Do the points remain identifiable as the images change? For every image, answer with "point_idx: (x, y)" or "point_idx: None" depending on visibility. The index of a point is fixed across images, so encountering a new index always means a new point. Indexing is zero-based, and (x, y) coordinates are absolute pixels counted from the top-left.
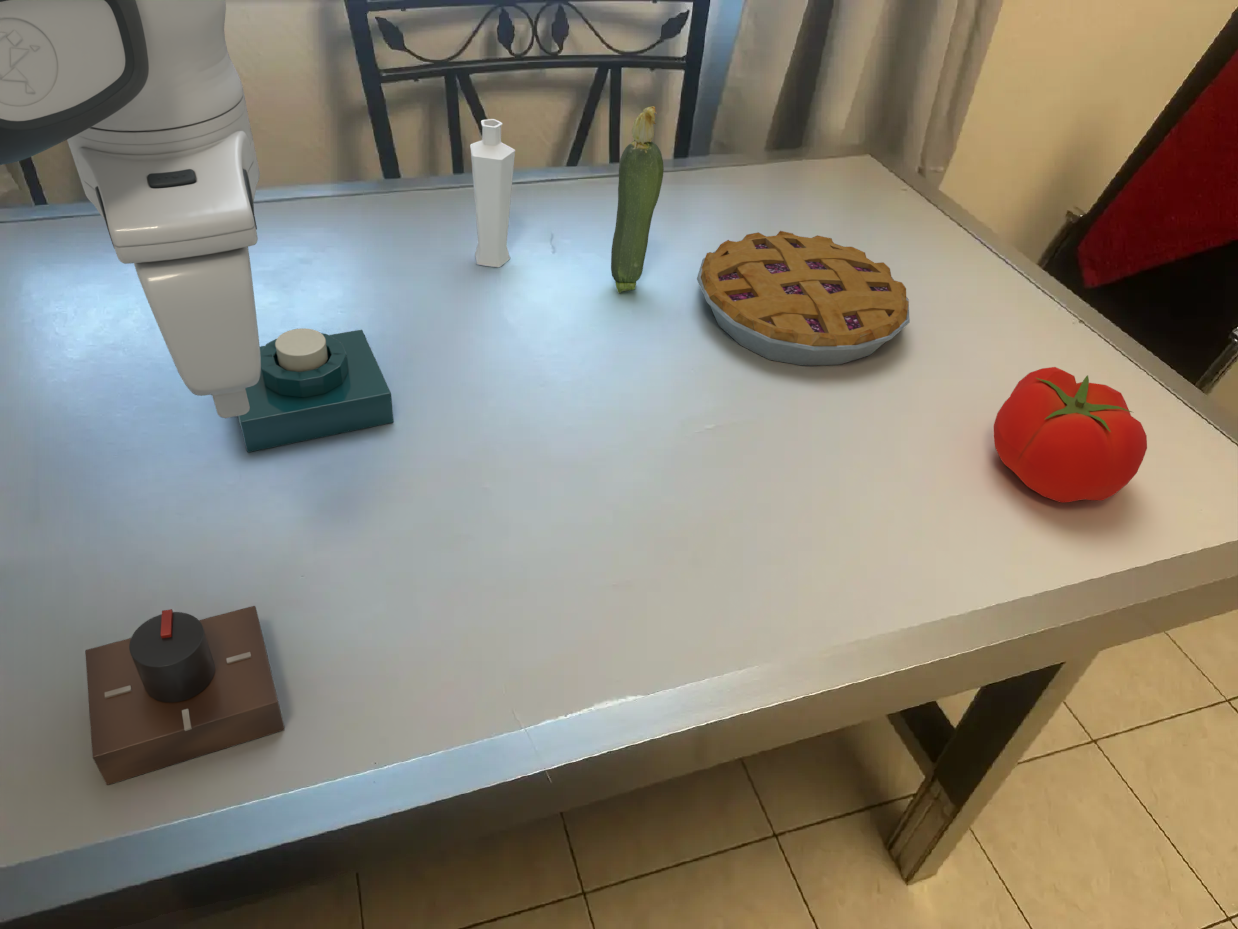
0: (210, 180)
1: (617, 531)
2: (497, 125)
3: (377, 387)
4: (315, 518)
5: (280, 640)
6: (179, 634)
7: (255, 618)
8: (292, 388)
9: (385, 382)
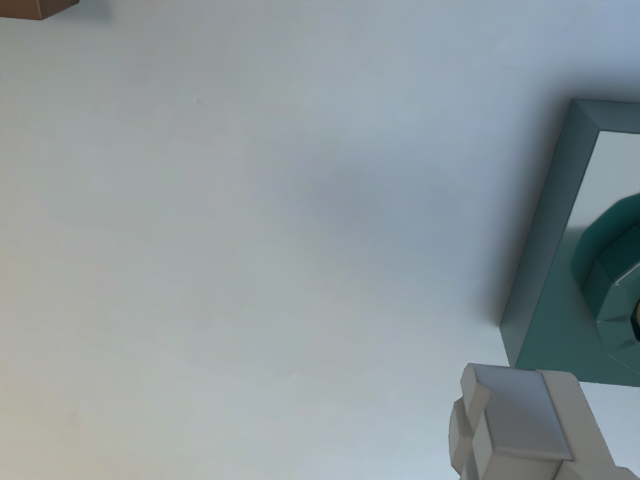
0: None
1: (159, 449)
2: None
3: (541, 364)
4: (328, 158)
5: (61, 28)
6: None
7: (8, 13)
8: (619, 256)
9: None
